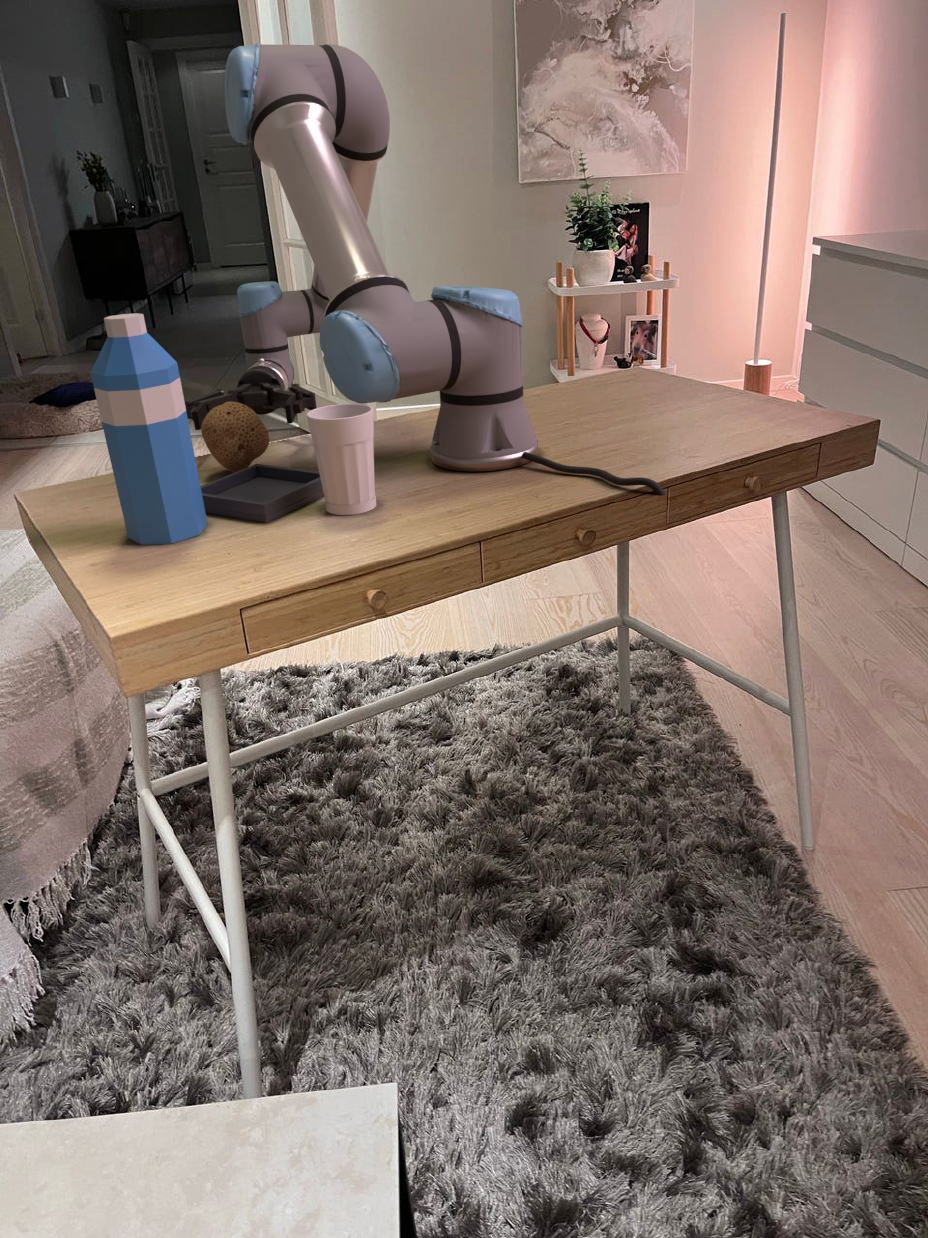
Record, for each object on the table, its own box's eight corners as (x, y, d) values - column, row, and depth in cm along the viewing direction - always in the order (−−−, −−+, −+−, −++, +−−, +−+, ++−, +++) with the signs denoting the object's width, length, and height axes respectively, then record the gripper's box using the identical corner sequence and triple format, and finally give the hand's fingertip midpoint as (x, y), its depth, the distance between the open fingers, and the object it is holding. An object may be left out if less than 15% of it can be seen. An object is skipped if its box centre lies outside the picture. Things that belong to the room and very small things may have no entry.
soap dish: (335, 490, 124) (333, 473, 123) (266, 522, 114) (263, 504, 113) (258, 479, 131) (256, 463, 130) (187, 509, 120) (183, 492, 119)
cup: (378, 493, 122) (369, 400, 117) (387, 512, 115) (377, 414, 109) (317, 501, 120) (304, 407, 115) (321, 520, 113) (308, 422, 108)
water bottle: (126, 526, 116) (78, 316, 105) (203, 513, 119) (164, 307, 108) (130, 550, 108) (78, 325, 97) (212, 536, 111) (171, 316, 100)
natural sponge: (263, 458, 140) (252, 391, 136) (282, 472, 133) (271, 402, 129) (203, 470, 137) (190, 401, 132) (219, 484, 130) (206, 412, 125)
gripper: (184, 370, 156) (152, 398, 137) (334, 359, 156) (323, 385, 137) (192, 415, 159) (162, 448, 140) (339, 404, 159) (329, 436, 140)
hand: (242, 417), depth 138 cm, fingers open, 13 cm apart
